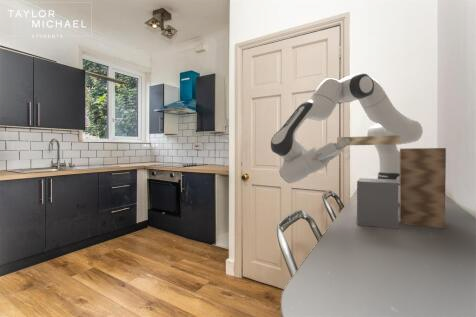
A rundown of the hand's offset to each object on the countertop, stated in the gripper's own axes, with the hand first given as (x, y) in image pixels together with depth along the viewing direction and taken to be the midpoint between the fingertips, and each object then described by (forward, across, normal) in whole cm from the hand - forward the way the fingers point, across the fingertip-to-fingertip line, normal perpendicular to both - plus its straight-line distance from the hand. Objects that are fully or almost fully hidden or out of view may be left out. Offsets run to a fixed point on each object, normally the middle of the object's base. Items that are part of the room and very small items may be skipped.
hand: (350, 139), depth 91 cm
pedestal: (+4, +8, +36) cm, 38 cm away
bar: (+4, 0, +4) cm, 6 cm away
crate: (-7, 0, +30) cm, 31 cm away
